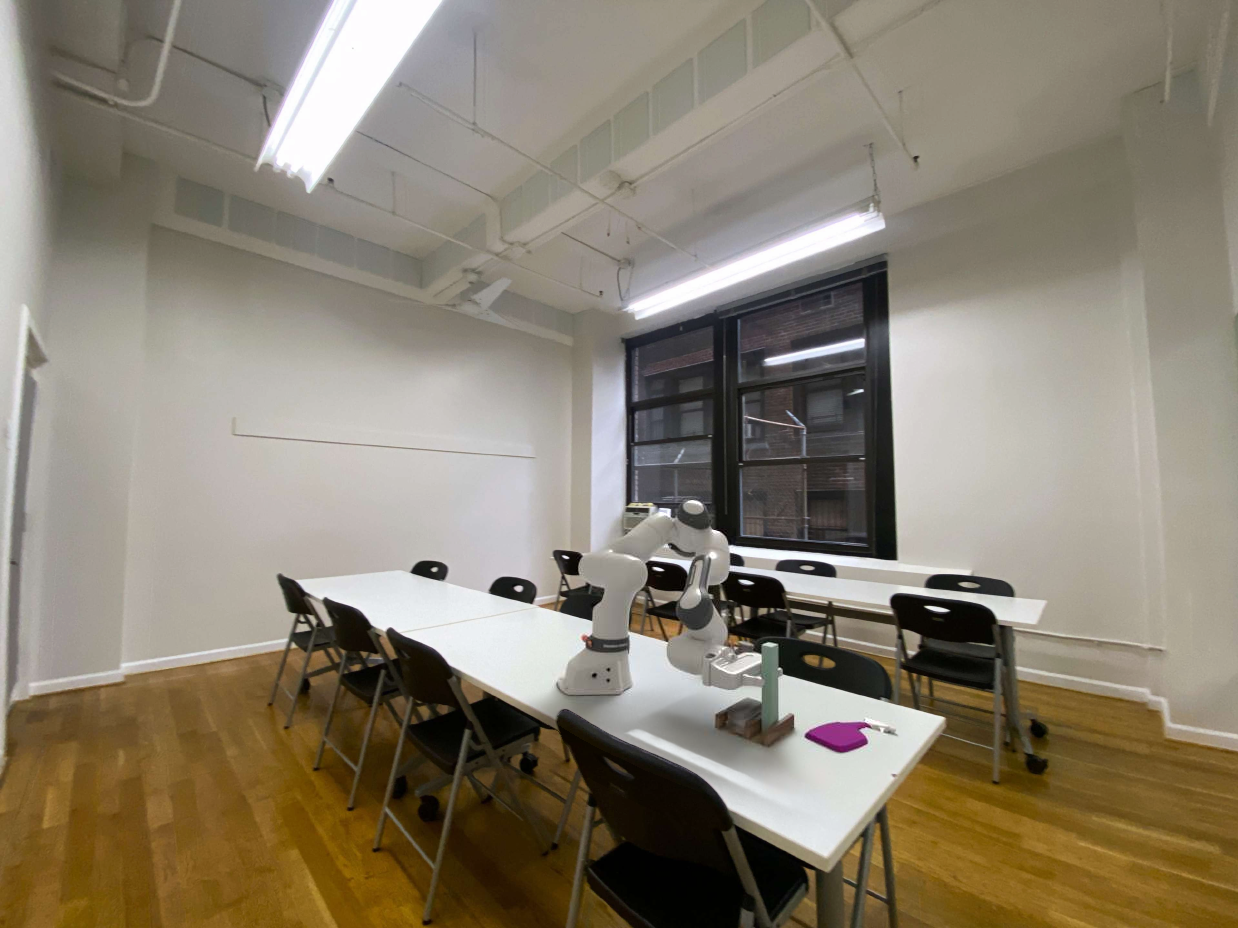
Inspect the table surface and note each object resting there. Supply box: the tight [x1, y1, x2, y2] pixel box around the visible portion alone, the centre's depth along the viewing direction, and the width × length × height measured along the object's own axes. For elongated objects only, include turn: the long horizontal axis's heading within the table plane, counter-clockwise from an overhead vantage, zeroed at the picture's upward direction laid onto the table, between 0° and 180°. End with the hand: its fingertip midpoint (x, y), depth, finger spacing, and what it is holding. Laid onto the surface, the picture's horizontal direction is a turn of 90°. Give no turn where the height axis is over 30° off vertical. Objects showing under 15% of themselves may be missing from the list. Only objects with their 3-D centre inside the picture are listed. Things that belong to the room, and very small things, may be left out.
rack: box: [714, 701, 796, 748], centre depth 116 cm, size 14×14×4 cm
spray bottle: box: [804, 716, 897, 753], centre depth 115 cm, size 3×11×25 cm
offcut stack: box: [725, 697, 762, 735], centre depth 118 cm, size 5×11×4 cm, turn 137°
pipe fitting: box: [734, 640, 762, 677], centre depth 159 cm, size 12×8×10 cm
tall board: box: [761, 641, 780, 734], centre depth 115 cm, size 2×4×20 cm
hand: (772, 677), depth 115 cm, fingers open, 8 cm apart
